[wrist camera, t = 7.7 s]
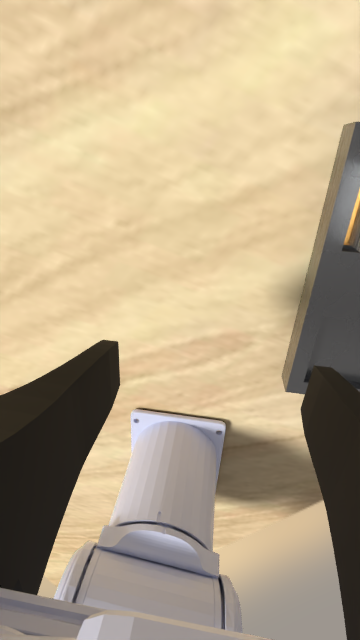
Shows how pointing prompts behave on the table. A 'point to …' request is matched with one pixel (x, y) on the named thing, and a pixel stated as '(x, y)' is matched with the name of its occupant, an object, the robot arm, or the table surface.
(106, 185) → the table surface
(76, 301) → the table surface
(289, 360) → the dark gray slotted base
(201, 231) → the table surface
